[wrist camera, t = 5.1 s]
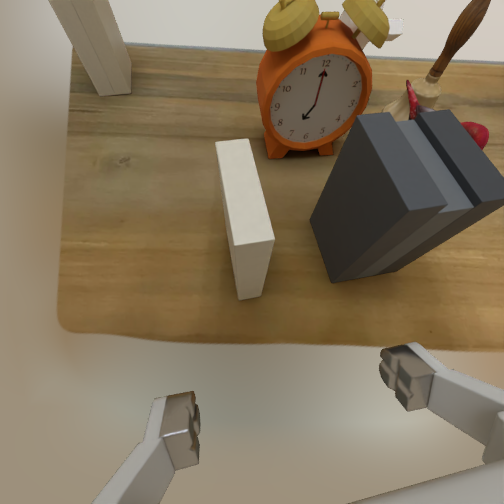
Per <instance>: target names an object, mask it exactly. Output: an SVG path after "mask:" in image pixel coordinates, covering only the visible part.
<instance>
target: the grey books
mask: <svg viewBox="0 0 504 504" xmlns="http://www.w3.org/2000/svg"><path fill="white" fill-rule="evenodd" d="M503 205H504V177H503V176H502V175H501V174H500V172H499V171H498V170H497V169H496V167H495V166H494V165H493V164H492V162H491V161H490V160H489V159H488V157H487V156H486V155H485V154H484V152H483V151H482V150H481V149H480V147H479V146H478V145H477V143H476V142H475V141H474V140H473V138H472V137H471V136H470V135H469V133H468V132H467V131H466V130H465V128H464V127H463V126H462V125H461V123H460V122H459V121H458V120H457V118H456V117H455V116H454V115H453V113H452V112H451V111H450V110H449V109H448V110H439V111H430V112H421V113H418V115H417V116H416V118H415V119H414V120H406V121H397V122H396V121H395V119H394V118H393V116H392V115H391V113H390V112H383V113H374V114H364V115H357V116H356V118H355V121H354V123H353V125H352V127H351V129H350V132H349V134H348V136H347V138H346V140H345V143H344V145H343V147H342V149H341V152H340V154H339V156H338V158H337V160H336V163H335V165H334V167H333V169H332V171H331V174H330V176H329V178H328V180H327V182H326V185H325V187H324V189H323V191H322V193H321V196H320V198H319V200H318V202H317V205H316V207H315V209H314V211H313V213H312V216H311V218H310V222H311V225H312V228H313V231H314V234H315V237H316V239H317V242H318V245H319V248H320V251H321V254H322V257H323V260H324V263H325V266H326V269H327V272H328V274H329V277H330V280H331V283H336V282H341V281H346V280H352V279H357V278H363V277H368V276H374V275H379V274H384V273H390V272H395V271H398V270H399V269H401V268H403V267H404V266H406V265H407V264H409V263H411V262H412V261H414V260H416V259H417V258H419V257H420V256H422V255H424V254H425V253H427V252H429V251H430V250H432V249H433V248H435V247H437V246H438V245H440V244H442V243H443V242H445V241H446V240H448V239H450V238H451V237H453V236H455V235H456V234H458V233H459V232H461V231H463V230H464V229H466V228H468V227H469V226H471V225H473V224H474V223H476V222H477V221H479V220H481V219H482V218H484V217H486V216H487V215H489V214H490V213H492V212H494V211H495V210H497V209H499V208H500V207H502V206H503Z"/></svg>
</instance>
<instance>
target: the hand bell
mask: <svg viewBox="0 0 504 504" xmlns="http://www.w3.org/2000/svg"><path fill="white" fill-rule="evenodd" d="M490 1H491V0H472V1H471V2H470V3H469V4H468V6H467V7H466V8H465V9H464V10H463V12H462V13H461V14H460V16H459V17H458V19H457V21H456V22H455V24H454V26H453V28H452V30H451V32H450V34H449V36H448V39H447V41H446V44H445V47H444V49H443V51H442V53H441V55H440V56H439V58H438V59H437V61H436V62H435V64H434V65H433V67H432V68H431V70H430V72H429V73H428V75H427V76H426V78H419V79H416V80H414V81H413V82H412V83H411V87H412V89H413V91H414V93H415V95H416V98H417V100H418V103H419V104H420V105H421V106H425V107H428V108H431V109H433V107H434V105H435V103H436V101H437V99H438V97H439V95H440V94H441V86H440V85H439V84H438V83H437V81H438V80H439V78H440V76H441V75H442V74H443V71H444V70H445V68H446V67H447V65H448V63H449V62H450V60H451V59H452V57H453V56H454V54H455V53H456V52H457V51H458V50H459V49H460V48H461V47H462V46H463V45H464V44H465V43H466V42H467V41H468V39H469V38H470V37H471V36H472V34H473V33H474V32H475V30H476V29H477V27H478V26H479V24H480V23H481V21H482V20H483V17H484V16H485V14H486V11H487V9H488V7H489V4H490ZM383 112H390V113H391V115H392V116H393V118H394V119H395V121H396V122H397V121H406V120H408V119H409V113H410V105H409V99H408V93H407V90H406V91H405V93H404V94H403V95H402V96H401V97H400V98H399V99H398V100H396V101H394V102H392V103H390V104H388V105H387V106H386V107H385V108H384V109H383V111H382V113H383Z"/></svg>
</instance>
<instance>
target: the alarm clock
mask: <svg viewBox="0 0 504 504" xmlns="http://www.w3.org/2000/svg"><path fill="white" fill-rule="evenodd" d="M376 1H377V0H376ZM384 2H385V0H379V1H377V3H376V2H375V1H374V0H345V1H344V3H343V4H342V5H343V8H344V10H345V11H346V13H347V14H348V16H349V17H350V18H351V20H352V21H353V22H354V24H355V25H356V26H357V27H358V28H357V29H356V31H355V32H354V33H353V32H352V30H351V28H349V27H348V26H347V25H346V24H344V23H343V22H342V21H341V20H339V19H338V18H339V12H322V13H321V15H319V8H318V6H317V4H316V2H315V0H279V2H278V3H277V4H276V5H275V6H274V7H273V8H272V9H271V10H270V12H269V13H268V15H267V16H266V19H265V21H264V26H263V39H264V45H265V47H266V48H267V50H266V52H265V55H264V57H263V59H262V61H261V63H260V65H259V70H258V75H257V81H256V85H257V94H258V101H259V106H260V111H261V116H262V121H263V125H264V127H265V129H266V131H265V133H264V137H265V142H266V148H267V153H268V158H269V159H274V158H283V156H284V155H285V154H286V153H287V152H288V151H289V149H290V150H300V151H306V150H311V149H317V148H318V151H319V154H320V156H321V155H333V149H332V142H333V141H335V140H336V139H337V138H339V137H340V136H342V135H343V134H345V133H346V132H347V131H348V130H349V129H350V128H351V127H352V125H353V123H354V121H355V118H356V116H357V115H361V114H362V112H363V111H364V109H365V108H366V106H367V103H368V99H369V96H370V93H371V90H372V69H371V67H370V65H369V63H368V61H367V58H366V56H365V54H364V53H363V51H362V49H361V47H360V45H359V43H358V41H357V39H356V37H357V36H358V35H359V33H360V32H362V33H363V34H364V35H365V36H366V37H367V38H368V40H369V41H370V42H372V43H373V44H374V45H375V46H376V47H378V48H381V47H382V45H383V44H384V42H385V40H386V39H387V37H388V33H389V29H390V26H389V21H388V18H387V16H386V15H385V13H384V12H383V11H382V9H381V8H380V7H381V5H382V4H383V3H384Z"/></svg>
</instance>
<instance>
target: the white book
mask: <svg viewBox="0 0 504 504" xmlns="http://www.w3.org/2000/svg"><path fill="white" fill-rule="evenodd" d="M215 145H216V153H217V161H218V168H219V176H220V184H221V192H222V199H223V207H224V215H225V223H226V231H227V237H228V243H229V248H230V254H231V260H232V266H233V271H234V277H235V283H236V289H237V294H238V300H244V299H249V298H255V297H260V296H261V293H262V289H263V285H264V281H265V277H266V273H267V269H268V265H269V261H270V257H271V253H272V249H273V245H274V241H275V237H274V233H273V230H272V226H271V222H270V218H269V214H268V211H267V207H266V203H265V199H264V196H263V192H262V188H261V184H260V180H259V177H258V173H257V169H256V165H255V161H254V158H253V154H252V150H251V146H250V142H249V139H239V140H230V141H221V142H215Z"/></svg>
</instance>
